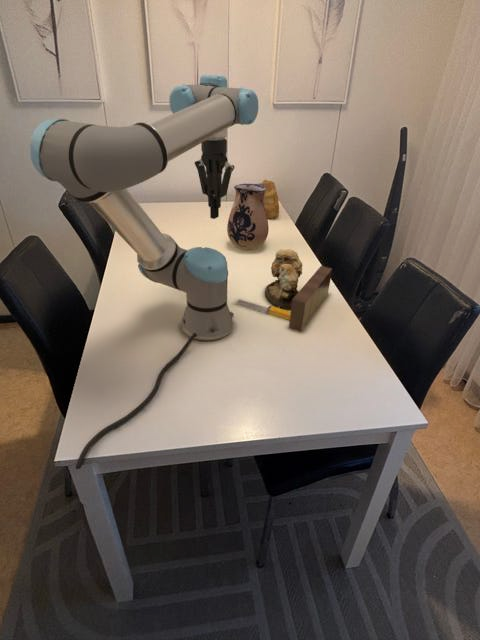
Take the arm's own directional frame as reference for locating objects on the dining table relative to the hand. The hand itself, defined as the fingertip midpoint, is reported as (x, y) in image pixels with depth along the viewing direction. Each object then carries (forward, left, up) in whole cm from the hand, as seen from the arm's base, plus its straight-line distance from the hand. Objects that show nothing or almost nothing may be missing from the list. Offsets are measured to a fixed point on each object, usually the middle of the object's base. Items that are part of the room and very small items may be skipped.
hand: (214, 217), depth 126 cm
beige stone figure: (+4, -24, -25) cm, 35 cm away
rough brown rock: (+80, +20, -25) cm, 86 cm away
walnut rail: (+1, -36, -24) cm, 43 cm away
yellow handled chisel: (-7, -23, -24) cm, 34 cm away
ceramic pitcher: (+38, +6, -25) cm, 46 cm away
